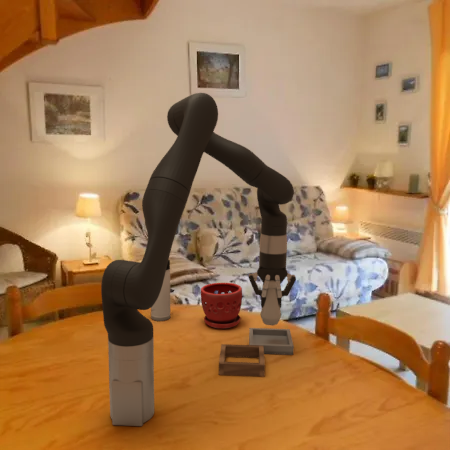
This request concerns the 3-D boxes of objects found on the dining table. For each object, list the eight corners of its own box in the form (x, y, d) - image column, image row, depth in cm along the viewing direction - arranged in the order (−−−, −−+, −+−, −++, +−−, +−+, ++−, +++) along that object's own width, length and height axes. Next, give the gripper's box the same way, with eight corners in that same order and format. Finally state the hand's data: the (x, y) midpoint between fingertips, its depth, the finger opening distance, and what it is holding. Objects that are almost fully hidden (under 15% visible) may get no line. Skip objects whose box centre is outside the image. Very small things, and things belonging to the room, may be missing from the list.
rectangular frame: (264, 376, 118) (264, 365, 117) (218, 374, 118) (218, 363, 118) (263, 355, 129) (263, 345, 128) (221, 354, 129) (221, 344, 129)
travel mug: (148, 320, 152) (147, 260, 149) (154, 313, 159) (153, 255, 155) (166, 322, 151) (166, 261, 148) (172, 315, 158) (172, 256, 154)
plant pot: (233, 314, 159) (234, 279, 157) (247, 329, 147) (248, 292, 145) (195, 318, 155) (196, 283, 153) (207, 333, 143) (207, 295, 141)
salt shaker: (279, 327, 131) (281, 282, 129) (259, 325, 132) (260, 280, 130) (281, 320, 137) (283, 276, 135) (261, 318, 138) (263, 275, 136)
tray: (293, 354, 130) (293, 346, 129) (249, 353, 130) (249, 344, 130) (289, 337, 141) (289, 329, 141) (249, 335, 142) (249, 327, 142)
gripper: (247, 252, 128) (246, 313, 131) (300, 253, 127) (297, 314, 130) (247, 246, 135) (246, 303, 138) (297, 247, 134) (294, 305, 137)
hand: (271, 308), depth 134 cm, fingers closed on salt shaker, 3 cm apart
